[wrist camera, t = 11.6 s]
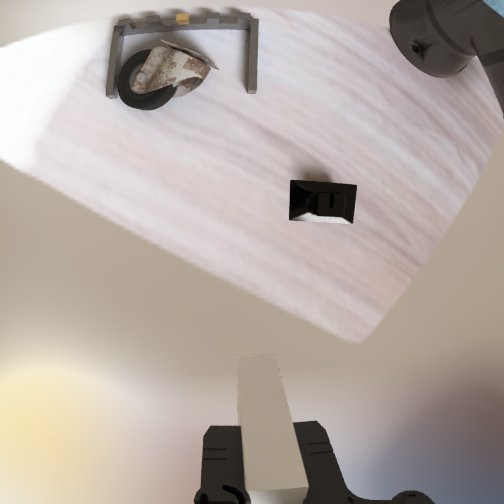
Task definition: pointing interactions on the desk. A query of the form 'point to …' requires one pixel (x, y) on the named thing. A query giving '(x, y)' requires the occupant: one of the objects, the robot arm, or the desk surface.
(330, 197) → the black mounting bracket
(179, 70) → the caster wheel
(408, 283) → the desk surface
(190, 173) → the desk surface
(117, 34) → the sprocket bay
